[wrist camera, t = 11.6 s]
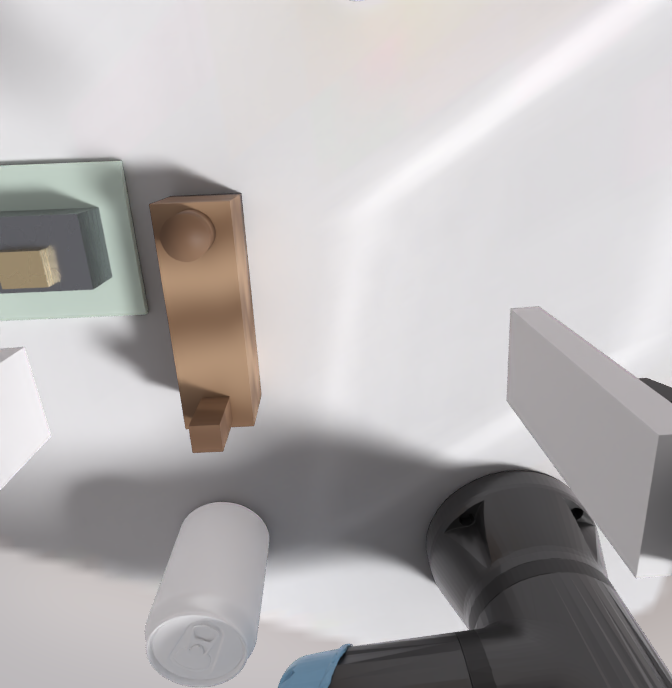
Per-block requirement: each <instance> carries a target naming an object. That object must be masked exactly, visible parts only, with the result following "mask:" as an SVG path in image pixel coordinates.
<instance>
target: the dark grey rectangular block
mask: <svg viewBox="0 0 672 688" xmlns="http://www.w3.org/2000/svg"><path fill="white" fill-rule="evenodd" d="M110 278H112V272H111V267H110V262H109V257H108V252H107V247H106V241H105V236H104V231H103V226H102V221H101V216H100V211H99V207H94V208H70V209H46V210H21V211H0V294H5V293H29V292H52V291H75V290H94V289H95V288H97V287H98V286H100V285H101V284H103V283H104V282H106V281H107V280H109V279H110Z"/></svg>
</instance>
